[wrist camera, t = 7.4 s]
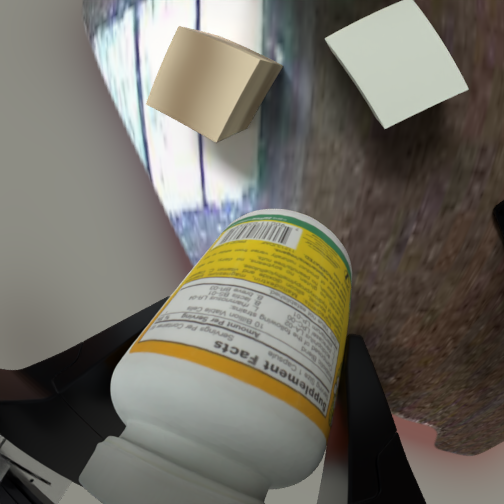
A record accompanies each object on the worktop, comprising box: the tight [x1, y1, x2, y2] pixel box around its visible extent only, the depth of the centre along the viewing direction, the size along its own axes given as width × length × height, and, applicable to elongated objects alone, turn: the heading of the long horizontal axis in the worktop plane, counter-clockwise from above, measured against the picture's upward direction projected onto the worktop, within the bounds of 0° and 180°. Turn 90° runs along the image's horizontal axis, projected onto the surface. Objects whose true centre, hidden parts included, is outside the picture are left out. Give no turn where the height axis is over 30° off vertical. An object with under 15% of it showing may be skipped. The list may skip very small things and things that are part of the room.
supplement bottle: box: [79, 209, 352, 504], centre depth 7 cm, size 5×5×10 cm
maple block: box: [146, 26, 283, 143], centre depth 15 cm, size 5×5×5 cm
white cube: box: [325, 0, 468, 129], centre depth 11 cm, size 5×5×5 cm
